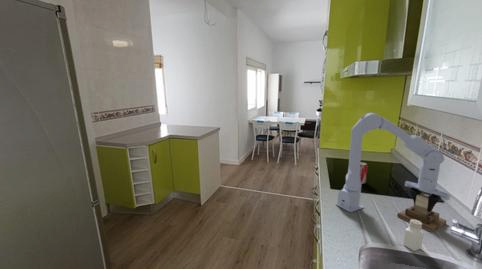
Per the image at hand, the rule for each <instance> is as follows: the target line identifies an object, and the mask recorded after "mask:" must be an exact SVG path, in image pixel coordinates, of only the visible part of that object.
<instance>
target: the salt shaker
mask: <svg viewBox="0 0 482 269" xmlns="http://www.w3.org/2000/svg"><path fill="white" fill-rule="evenodd" d="M408 224H409V225H408V227H406V228H405V230H404V234H403V235H404V236H403V241H402V242H403V243H402V244H403V245H404V247H406V248H408V249H410V250H412V251H414V252H417V251H418V250H420V249H421V250H422V246H423V245H422V244H423V240H424V232H423V231H422V230H421V229H423V228H422V223H421V222H420V221H418V220H415V219H411V220H410V222H409V223H408Z"/></svg>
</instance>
